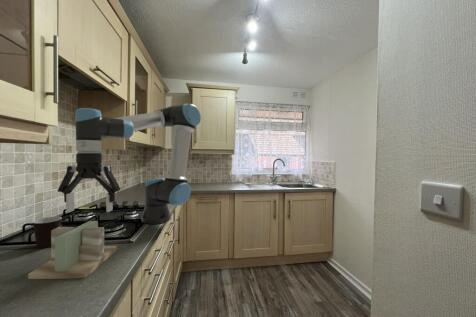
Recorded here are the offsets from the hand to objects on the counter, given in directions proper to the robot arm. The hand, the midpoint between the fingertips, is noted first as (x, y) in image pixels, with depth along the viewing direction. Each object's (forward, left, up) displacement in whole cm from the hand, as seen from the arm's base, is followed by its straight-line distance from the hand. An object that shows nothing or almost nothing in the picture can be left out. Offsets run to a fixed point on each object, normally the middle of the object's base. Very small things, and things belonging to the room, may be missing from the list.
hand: (90, 211), depth 76 cm
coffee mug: (-10, -21, -16) cm, 28 cm away
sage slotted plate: (+6, 0, -14) cm, 15 cm away
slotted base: (+6, 0, -16) cm, 17 cm away
